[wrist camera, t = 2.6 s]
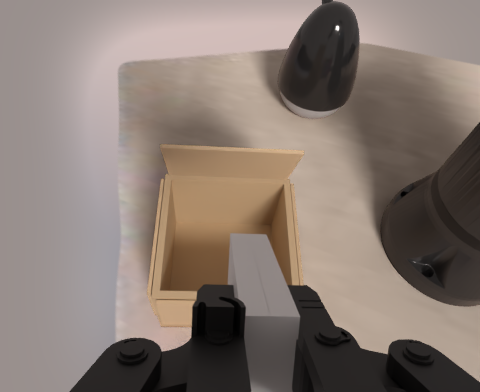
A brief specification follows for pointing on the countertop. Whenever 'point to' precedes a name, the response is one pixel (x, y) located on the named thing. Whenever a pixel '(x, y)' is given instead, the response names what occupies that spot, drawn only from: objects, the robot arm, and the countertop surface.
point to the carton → (215, 236)
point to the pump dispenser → (321, 62)
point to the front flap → (230, 161)
